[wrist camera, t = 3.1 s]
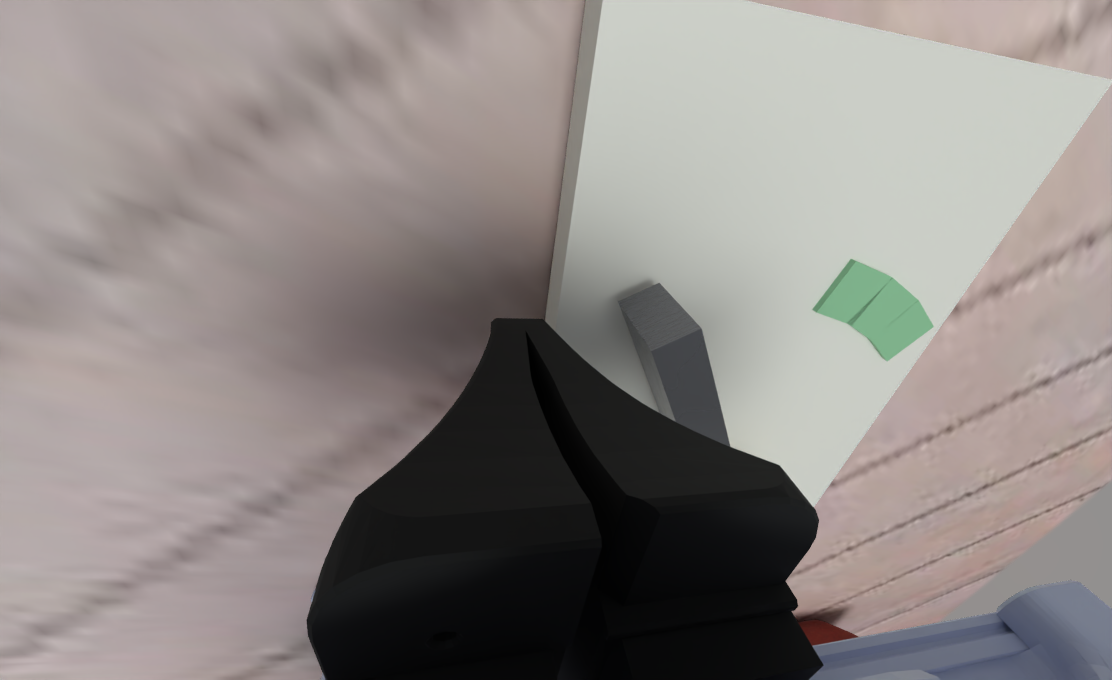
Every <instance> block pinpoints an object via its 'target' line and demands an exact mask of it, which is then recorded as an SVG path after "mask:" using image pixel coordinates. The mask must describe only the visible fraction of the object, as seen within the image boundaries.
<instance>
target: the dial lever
mask: <svg viewBox="0 0 1112 680" xmlns="http://www.w3.org/2000/svg"><path fill="white" fill-rule="evenodd" d="M618 303H619V306H620V308H621V311H622V314H623V316H624V319H625V322H626V324H627V327H628V330H629V332H630V335H631V338H632V340H633V343H634V346H635V348H636V351H637V354H638V356H639V359H640V362H641V364H642V367H643V369H644V372H645V375H646V377H647V380H648V383H649V385H650V388H651V391H652V393H653V396H654V399H655V401H656V404H657V407H658V409H659V412H660V413H661V414H662V415H664V416H666V417H668V418H670V419H671V420H673V421H675V422H677V423H679V424H681V425H683V426H685V427H687V428H689V429H691V430H693V431H695V432H697V433H700V434H702V435H704V436H706V437H709V438H711V439H713V440H715V441H717V442H720V443H722V444H724V445H727V446H729V447H730V443H729V438H728V434H727V430H726V426H725V422H724V418H723V414H722V410H721V405H720V401H719V397H718V393H717V389H716V385H715V381H714V377H713V373H712V368H711V364H710V360H709V356H708V352H707V348H706V344H705V340H704V336H703V331H702V328H701V327H700V326H699V325H698V324H697V323H696V322H695V321H694V320H693V318H692V317H691V316H690V315H689V314H688V313H687V312H686V311H685V310H684V309H683V308H682V307H681V306H680V304H679V303H678V302H677V301H676V300H675V299H674V298H673V297H672V296H671V295H670V294H669V293H668V291H667V290H666V289H665V288H664V287H663V286H662V285H661V284H660V283H657V284H655V285H653V286H651V287H649V288H646V289H644V290H642V291H640V292H638V293H636V294H633V295H631V296H629V297H627V298H625V299H622V300H620V301H618Z"/></svg>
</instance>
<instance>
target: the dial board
mask: <svg viewBox="0 0 1112 680" xmlns="http://www.w3.org/2000/svg"><path fill="white" fill-rule="evenodd" d="M1111 84H1112V80H1111V79H1106V78H1101V77H1097V76H1092V75H1087V74H1083V73H1078V72H1074V71H1069V70H1064V69H1060V68H1055V67H1050V66H1046V65H1041V64H1037V63H1032V62H1027V61H1023V60H1018V59H1013V58H1009V57H1004V56H1000V55H995V54H990V53H986V52H981V51H976V50H972V49H967V48H963V47H958V46H953V45H949V44H944V43H939V42H935V41H930V40H926V39H921V38H916V37H912V36H907V35H902V34H898V33H893V32H889V31H884V30H879V29H875V28H870V27H865V26H861V25H856V24H852V23H847V22H842V21H838V20H833V19H828V18H824V17H819V16H815V15H810V14H805V13H801V12H796V11H791V10H787V9H782V8H778V7H773V6H768V5H764V4H759V3H754V2H750V1H745V0H586V1H585V9H584V16H583V24H582V32H581V40H580V48H579V56H578V64H577V72H576V79H575V87H574V95H573V103H572V111H571V119H570V127H569V134H568V142H567V150H566V158H565V166H564V174H563V182H562V190H561V197H560V205H559V213H558V221H557V229H556V237H555V245H554V253H553V260H552V268H551V276H550V284H549V292H548V300H547V308H546V316H545V321H546V322H547V323H548V324H549V325H550V327H551V328H552V329H553V330H554V331H555V332H556V333H557V334H558V335H559V336H560V337H561V338H562V339H563V340H564V341H565V342H566V343H567V344H568V345H569V346H570V347H571V348H572V349H573V350H575V351H576V352H577V353H578V354H579V355H580V356H581V357H582V358H583V359H584V360H585V361H587V362H588V363H589V364H590V365H591V366H592V367H593V368H595V369H596V370H597V371H598V372H600V373H601V374H602V375H603V376H605V377H606V378H607V379H608V380H610V381H611V382H612V383H614V384H615V385H616V386H618V387H619V388H621V389H622V390H624V391H625V392H627V393H628V394H629V395H631V396H632V397H634V398H635V399H637V400H638V401H640V402H642V403H643V404H645V405H647V406H648V407H650V408H652V409H653V410H655V411H657V412H659V409H658V407H657V404H656V401H655V399H654V396H653V393H652V391H651V388H650V385H649V383H648V380H647V377H646V375H645V372H644V369H643V367H642V364H641V362H640V359H639V356H638V354H637V351H636V348H635V346H634V343H633V340H632V338H631V335H630V332H629V330H628V327H627V324H626V322H625V319H624V316H623V314H622V311H621V308H620V306H619V303H618V301H620V300H622V299H625V298H627V297H629V296H631V295H633V294H636V293H638V292H640V291H642V290H644V289H646V288H649V287H651V286H653V285H655V284H657V283H660V284H661V285H662V286H663V287H664V288H665V289H666V290H667V291H668V293H669V294H670V295H671V296H672V297H673V298H674V299H675V300H676V301H677V302H678V303H679V304H680V306H681V307H682V308H683V309H684V310H685V311H686V312H687V313H688V314H689V315H690V316H691V317H692V318H693V320H694V321H695V322H696V323H697V324H698V325H699V326H700V327H701V328H702V331H703V336H704V340H705V344H706V348H707V352H708V356H709V360H710V364H711V368H712V373H713V377H714V381H715V385H716V389H717V393H718V397H719V401H720V405H721V410H722V414H723V418H724V422H725V426H726V430H727V434H728V438H729V443H730V447H732V448H735V449H737V450H740V451H743V452H746V453H748V454H751V455H754V456H756V457H759V458H762V459H764V460H767V461H770V462H772V463H775V464H778V465H780V466H781V468H782V469H783V470H784V471H785V472H786V474H787V475H788V476H789V477H790V479H791V480H792V481H793V482H794V484H795V485H796V486H797V487H798V489H799V490H800V491H801V492H802V494H803V495H804V496H805V497H806V499H807V500H808V501H809V502H810V504H811V505H812V506H813V507H814V506H815V505H816V503H817V502H818V500H819V499H820V497H821V496H822V495H823V493H824V492H825V490H826V489H827V488H828V486H829V485H830V483H831V482H832V480H833V479H834V478H835V476H836V475H837V473H838V472H839V470H840V469H841V468H842V466H843V465H844V463H845V462H846V461H847V459H848V458H849V456H850V455H851V453H852V452H853V451H854V449H855V448H856V446H857V445H858V443H859V442H860V441H861V439H862V438H863V436H864V435H865V433H866V432H867V431H868V429H869V428H870V426H871V425H872V424H873V422H874V421H875V419H876V418H877V416H878V415H879V414H880V412H881V411H882V409H883V408H884V406H885V405H886V404H887V402H888V401H889V399H890V398H891V397H892V395H893V394H894V392H895V391H896V389H897V388H898V387H899V385H900V384H901V382H902V381H903V379H904V378H905V377H906V375H907V374H908V372H909V371H910V370H911V368H912V367H913V365H914V364H915V362H916V361H917V360H918V358H919V357H920V355H921V354H922V352H923V351H924V350H925V348H926V347H927V345H928V344H929V342H930V341H931V340H932V338H933V337H934V335H935V334H936V333H937V331H938V330H939V328H940V327H941V325H942V324H943V323H944V321H945V320H946V318H947V317H948V315H949V314H950V313H951V311H952V310H953V308H954V307H955V306H956V304H957V303H958V301H959V300H960V298H961V297H962V296H963V294H964V293H965V291H966V290H967V288H968V287H969V286H970V284H971V283H972V281H973V280H974V278H975V277H976V276H977V274H978V273H979V271H980V270H981V269H982V267H983V266H984V264H985V263H986V261H987V260H988V259H989V257H990V256H991V254H992V253H993V251H994V250H995V249H996V247H997V246H998V244H999V243H1000V242H1001V240H1002V239H1003V237H1004V236H1005V234H1006V233H1007V232H1008V230H1009V229H1010V227H1011V226H1012V224H1013V223H1014V222H1015V220H1016V219H1017V217H1018V216H1019V215H1020V213H1021V212H1022V210H1023V209H1024V207H1025V206H1026V205H1027V203H1028V202H1029V200H1030V199H1031V197H1032V196H1033V195H1034V193H1035V192H1036V190H1037V189H1038V187H1039V186H1040V185H1041V183H1042V182H1043V180H1044V179H1045V178H1046V176H1047V175H1048V173H1049V172H1050V170H1051V169H1052V168H1053V166H1054V165H1055V163H1056V162H1057V160H1058V159H1059V158H1060V156H1061V155H1062V153H1063V152H1064V151H1065V149H1066V148H1067V146H1068V145H1069V143H1070V142H1071V141H1072V139H1073V138H1074V136H1075V135H1076V133H1077V132H1078V131H1079V129H1080V128H1081V126H1082V125H1083V123H1084V122H1085V121H1086V119H1087V118H1088V116H1089V115H1090V114H1091V112H1092V111H1093V109H1094V108H1095V106H1096V105H1097V104H1098V102H1099V101H1100V99H1101V98H1102V96H1103V95H1104V94H1105V92H1106V91H1107V89H1108V88H1109V87H1110V85H1111ZM659 413H660V412H659Z"/></svg>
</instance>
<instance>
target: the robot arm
mask: <svg viewBox="0 0 1112 680" xmlns="http://www.w3.org/2000/svg"><path fill="white" fill-rule="evenodd" d="M818 523H819V519H818V516H817V513H816V510H815V509H814V507H813V506H812V505H811V504H810V502H809V501H808V500H807V499H806V497H805V496H804V495H803V494H802V492H801V491H800V490H799V489H798V487H797V486H796V485H795V484H794V482H793V481H792V480H791V479H790V477H789V476H788V475H787V474H786V472H785V471H784V470H783V469H782V468H781V466H780V465H778V464H775V463H772V462H770V461H767V460H764V459H762V458H759V457H756V456H754V455H751V454H748V453H746V452H743V451H740V450H737V449H735V448H732V447H729V446H727V445H724V444H722V443H720V442H717V441H715V440H713V439H711V438H709V437H706V436H704V435H702V434H700V433H697V432H695V431H693V430H691V429H689V428H687V427H685V426H683V425H681V424H679V423H677V422H675V421H673V420H671V419H670V418H668V417H666V416H664V415H662V414H661V413H659V412H657V411H655V410H653V409H652V408H650V407H648V406H647V405H645V404H643V403H642V402H640V401H638V400H637V399H635V398H634V397H632V396H631V395H629V394H628V393H627V392H625V391H624V390H622V389H621V388H619V387H618V386H616V385H615V384H614V383H612V382H611V381H610V380H608V379H607V378H606V377H605V376H603V375H602V374H601V373H600V372H598V371H597V370H596V369H595V368H593V367H592V366H591V365H590V364H589V363H588V362H587V361H585V360H584V359H583V358H582V357H581V356H580V355H579V354H578V353H577V352H576V351H575V350H573V349H572V348H571V347H570V346H569V345H568V344H567V343H566V342H565V341H564V340H563V339H562V338H561V337H560V336H559V335H558V334H557V333H556V332H555V331H554V330H553V329H552V328H551V327H550V325H549V324H548V323H547V322H546V321H544V320H543V319H510V318H496V319H494V320H493V321H492V322H491V334H490V338H489V341H488V344H487V347H486V349H485V351H484V354H483V356H482V359H481V361H480V363H479V365H478V367H477V368H476V370H475V372H474V374H473V376H472V378H471V379H470V381H469V383H468V384H467V386H466V388H465V389H464V391H463V392H462V394H461V395H460V396H459V398H458V399H457V401H456V402H455V403H454V405H453V406H452V407H451V409H450V410H449V411H448V412H447V413H446V415H445V416H444V417H443V418H442V420H441V421H440V422H439V423H438V424H437V425H436V427H435V428H434V429H433V430H432V431H431V432H430V433H429V434H428V435H427V436H426V437H425V438H424V439H423V440H422V441H421V442H420V443H419V444H418V445H417V446H416V447H415V448H414V449H413V450H412V451H411V452H410V453H409V454H408V455H407V456H406V457H405V458H403V459H402V460H401V461H400V462H399V463H398V464H397V465H396V466H394V467H393V468H392V469H391V470H389V471H388V472H387V473H386V474H384V475H383V476H382V477H381V478H379V479H378V480H377V481H376V482H374V483H373V484H372V485H371V486H369V487H368V488H367V489H366V490H364V491H363V492H362V493H361V494H359V495H358V496H357V497H356V498H355V499H354V501H353V503H352V505H351V507H350V508H349V510H348V512H347V514H346V516H345V518H344V520H343V522H342V523H341V526H340V528H339V530H338V532H337V534H336V536H335V538H334V540H333V542H332V545H331V547H330V550H329V552H328V554H327V557H326V559H325V561H324V564H323V567H322V570H321V572H320V576H319V579H318V583H317V586H316V589H315V591H314V592H313V595H312V598H311V602H312V604H311V607H310V611H309V614H308V617H307V629H308V637H309V639H310V642H311V644H312V647H313V649H314V652H315V654H316V657H317V659H318V662H319V665H320V667H321V670H322V677H321V680H1112V609H1111V608H1110V607H1109V606H1108V605H1106V604H1105V603H1104V602H1103V601H1102V600H1100V599H1099V598H1098V597H1097V596H1096V595H1095V594H1093V593H1092V592H1091V591H1090V590H1089V589H1087V588H1086V587H1085V586H1084V585H1082V584H1081V583H1080V582H1078V581H1073V580H1068V581H1062V582H1056V583H1051V584H1044V585H1039V586H1034V587H1030V588H1027V589H1025V590H1023V591H1020V592H1018V593H1016V594H1015V595H1013V596H1012V597H1010V598H1009V599H1007V600H1006V601H1005V602H1003V603H1002V604H1001V605H1000V606H999V607H998V608H997V612H993V613H988V614H982V615H977V616H971V617H966V618H960V619H955V620H950V621H944V622H939V623H933V624H928V625H922V626H917V627H911V628H906V629H900V630H895V631H890V632H884V633H879V634H873V635H868V636H862V637H857V638H851V639H846V640H841V641H835V642H830V643H824V644H819V645H813V646H812V645H811V643H810V641H809V640H808V638H807V636H806V635H805V633H804V631H803V630H802V628H801V627H800V625H799V623H798V622H797V620H796V618H795V617H794V615H793V613H792V612H791V611H794V610H795V609H796V608H797V607H798V603H797V599H796V597H795V596H794V594H793V593H792V591H791V589H790V588H789V586H788V585H787V583H786V582H785V581H786V579H787V578H788V577H789V575H790V574H791V573H792V571H793V570H794V569H795V567H796V566H797V565H798V563H799V562H800V561H801V559H802V558H803V557H804V555H805V554H806V553H807V551H808V550H809V549H810V547H811V545H812V543H813V542H814V540H815V538H816V534H817V529H818Z"/></svg>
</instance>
